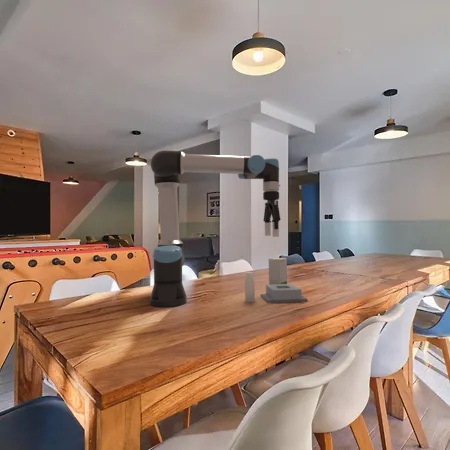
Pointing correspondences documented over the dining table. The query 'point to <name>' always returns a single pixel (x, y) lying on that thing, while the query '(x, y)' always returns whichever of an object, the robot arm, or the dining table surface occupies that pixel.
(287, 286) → the socket
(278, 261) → the skincare box
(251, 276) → the dowel
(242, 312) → the dining table surface
